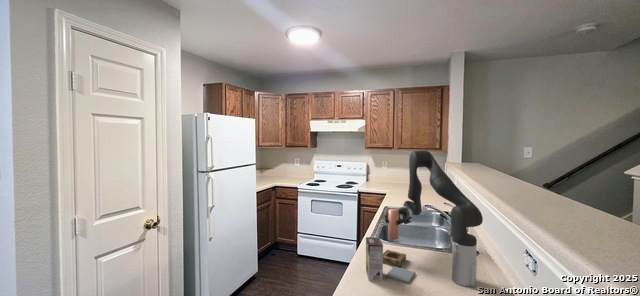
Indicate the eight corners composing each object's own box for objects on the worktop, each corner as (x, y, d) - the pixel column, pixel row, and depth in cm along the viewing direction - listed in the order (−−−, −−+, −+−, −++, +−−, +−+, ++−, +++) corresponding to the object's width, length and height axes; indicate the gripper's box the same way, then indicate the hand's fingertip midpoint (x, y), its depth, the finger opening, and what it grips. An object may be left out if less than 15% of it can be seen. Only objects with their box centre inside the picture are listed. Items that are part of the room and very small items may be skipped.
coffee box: (365, 270, 129) (365, 236, 128) (379, 270, 129) (379, 237, 128) (368, 280, 120) (368, 244, 119) (383, 281, 120) (383, 244, 119)
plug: (400, 237, 139) (400, 209, 138) (396, 240, 135) (396, 211, 134) (390, 235, 142) (390, 208, 141) (386, 238, 138) (386, 210, 137)
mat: (415, 274, 126) (415, 272, 126) (408, 283, 118) (408, 281, 118) (393, 268, 132) (393, 266, 131) (386, 277, 123) (386, 274, 123)
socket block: (406, 260, 140) (406, 254, 140) (399, 267, 132) (399, 261, 132) (387, 255, 146) (387, 249, 146) (379, 262, 138) (379, 256, 138)
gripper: (390, 205, 154) (378, 212, 140) (416, 209, 146) (406, 217, 132) (390, 218, 154) (378, 227, 140) (416, 223, 146) (406, 232, 132)
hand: (392, 222), depth 136 cm, fingers closed on plug, 5 cm apart
